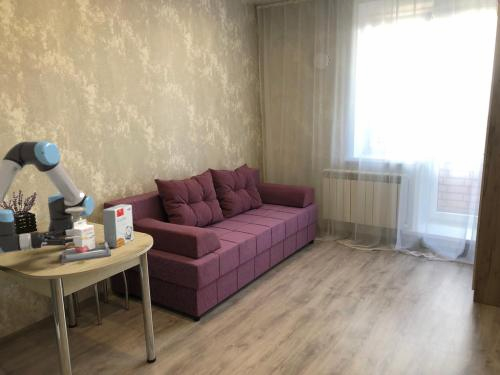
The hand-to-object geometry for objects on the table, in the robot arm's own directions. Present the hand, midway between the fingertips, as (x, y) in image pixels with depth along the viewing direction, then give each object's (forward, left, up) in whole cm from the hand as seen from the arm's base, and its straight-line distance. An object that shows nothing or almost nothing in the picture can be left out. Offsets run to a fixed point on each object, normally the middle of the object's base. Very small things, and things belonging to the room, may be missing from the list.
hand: (80, 234), depth 195 cm
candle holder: (-17, -1, -11) cm, 20 cm away
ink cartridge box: (0, +2, -8) cm, 8 cm away
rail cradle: (0, +2, -11) cm, 11 cm away
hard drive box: (-12, +19, -11) cm, 25 cm away
